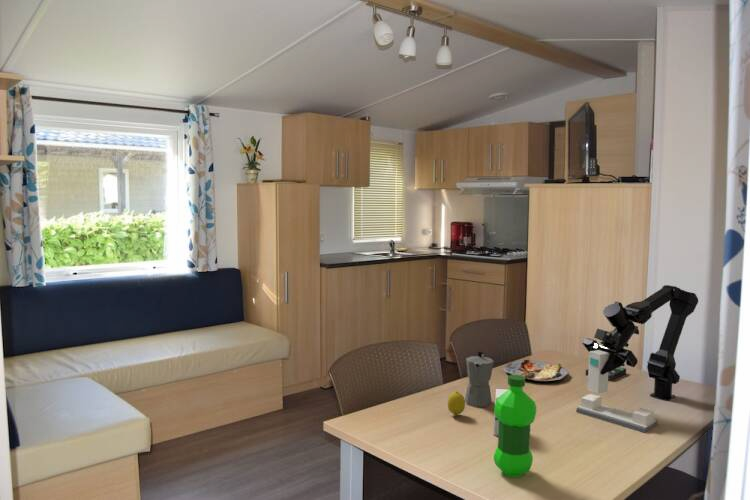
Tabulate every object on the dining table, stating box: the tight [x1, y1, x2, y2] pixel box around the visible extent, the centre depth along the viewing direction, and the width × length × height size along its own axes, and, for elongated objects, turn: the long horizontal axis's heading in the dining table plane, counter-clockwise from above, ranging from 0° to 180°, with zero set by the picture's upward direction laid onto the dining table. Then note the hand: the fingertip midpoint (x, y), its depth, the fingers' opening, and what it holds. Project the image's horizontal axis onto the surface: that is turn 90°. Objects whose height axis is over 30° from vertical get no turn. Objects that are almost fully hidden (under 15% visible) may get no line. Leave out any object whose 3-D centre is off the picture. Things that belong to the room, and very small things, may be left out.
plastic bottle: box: [493, 374, 537, 478], centre depth 148 cm, size 10×10×25 cm
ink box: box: [493, 388, 509, 437], centre depth 174 cm, size 9×5×12 cm, turn 168°
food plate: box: [503, 358, 569, 383], centre depth 231 cm, size 25×23×4 cm
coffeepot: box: [464, 350, 495, 408], centre depth 199 cm, size 15×9×18 cm, turn 163°
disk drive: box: [585, 366, 627, 382], centre depth 233 cm, size 10×3×15 cm
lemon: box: [447, 390, 466, 417], centre depth 186 cm, size 6×6×8 cm
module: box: [586, 350, 610, 394], centre depth 191 cm, size 5×4×13 cm
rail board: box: [576, 393, 659, 434], centre depth 187 cm, size 10×22×4 cm, turn 43°
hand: (595, 371), depth 191 cm, fingers closed on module, 4 cm apart
